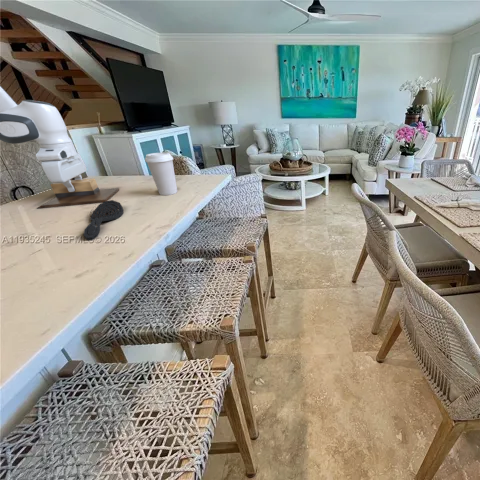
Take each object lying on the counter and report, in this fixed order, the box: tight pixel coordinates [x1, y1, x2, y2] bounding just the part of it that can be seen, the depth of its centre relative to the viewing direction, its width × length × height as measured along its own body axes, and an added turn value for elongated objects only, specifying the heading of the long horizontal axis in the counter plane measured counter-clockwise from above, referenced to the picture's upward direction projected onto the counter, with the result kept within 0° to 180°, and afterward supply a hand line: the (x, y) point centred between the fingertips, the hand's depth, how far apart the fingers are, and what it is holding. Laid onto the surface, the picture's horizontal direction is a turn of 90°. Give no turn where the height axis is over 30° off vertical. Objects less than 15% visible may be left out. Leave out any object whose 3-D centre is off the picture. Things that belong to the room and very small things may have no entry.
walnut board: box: [36, 187, 120, 209], centre depth 100 cm, size 20×16×1 cm
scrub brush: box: [50, 178, 100, 198], centre depth 101 cm, size 12×5×5 cm, turn 109°
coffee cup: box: [144, 152, 178, 196], centre depth 103 cm, size 10×10×15 cm
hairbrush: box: [83, 199, 124, 241], centre depth 79 cm, size 8×4×25 cm
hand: (76, 189), depth 101 cm, fingers closed on scrub brush, 5 cm apart
